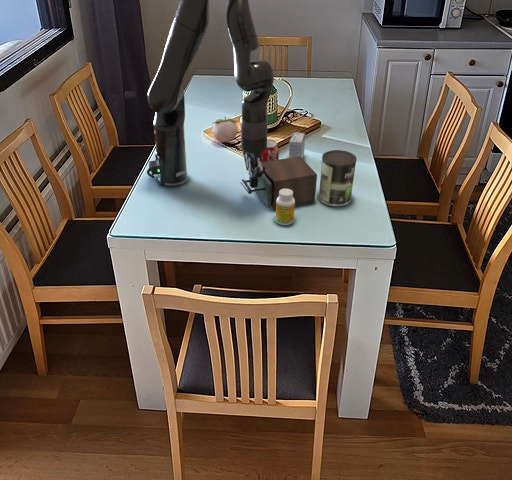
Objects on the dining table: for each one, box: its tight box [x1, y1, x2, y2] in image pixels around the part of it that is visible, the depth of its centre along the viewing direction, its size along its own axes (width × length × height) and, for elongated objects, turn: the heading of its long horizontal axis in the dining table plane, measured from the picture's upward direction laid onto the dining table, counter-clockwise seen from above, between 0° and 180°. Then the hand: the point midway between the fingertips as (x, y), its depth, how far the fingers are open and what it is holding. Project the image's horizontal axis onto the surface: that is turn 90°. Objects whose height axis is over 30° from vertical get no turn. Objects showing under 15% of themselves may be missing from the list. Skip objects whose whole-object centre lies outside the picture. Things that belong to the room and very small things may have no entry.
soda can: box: [261, 139, 280, 162], centre depth 186 cm, size 7×7×12 cm
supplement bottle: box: [275, 189, 296, 226], centre depth 166 cm, size 5×5×10 cm
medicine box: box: [288, 132, 306, 160], centre depth 197 cm, size 8×4×9 cm, turn 168°
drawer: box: [240, 172, 273, 208], centre depth 176 cm, size 18×12×8 cm, turn 110°
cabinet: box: [261, 156, 318, 211], centre depth 177 cm, size 14×13×10 cm
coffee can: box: [318, 149, 358, 207], centre depth 175 cm, size 10×10×14 cm
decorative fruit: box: [211, 116, 239, 144], centre depth 207 cm, size 9×8×10 cm
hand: (253, 186), depth 174 cm, fingers closed
